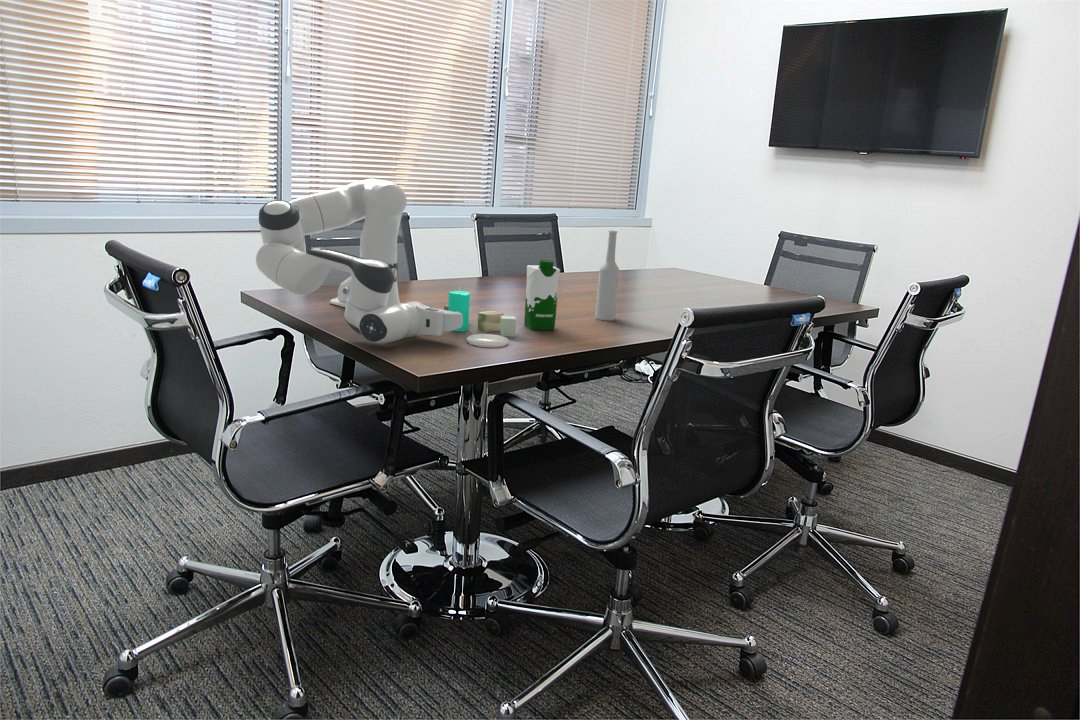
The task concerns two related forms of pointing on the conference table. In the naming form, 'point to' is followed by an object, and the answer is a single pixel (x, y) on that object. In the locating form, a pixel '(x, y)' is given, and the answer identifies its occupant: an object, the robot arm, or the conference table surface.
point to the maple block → (489, 321)
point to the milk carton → (541, 296)
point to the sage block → (508, 326)
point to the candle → (460, 306)
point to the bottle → (608, 283)
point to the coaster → (487, 340)
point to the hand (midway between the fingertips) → (443, 311)
